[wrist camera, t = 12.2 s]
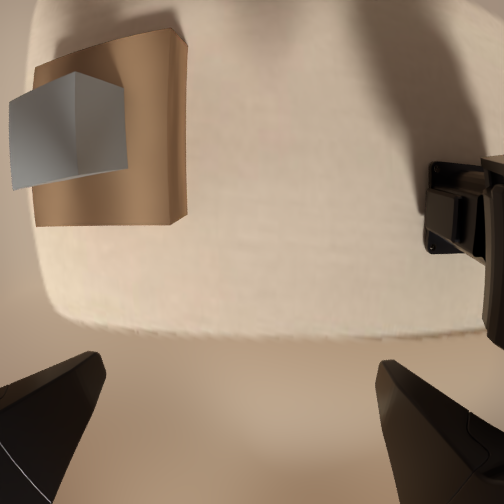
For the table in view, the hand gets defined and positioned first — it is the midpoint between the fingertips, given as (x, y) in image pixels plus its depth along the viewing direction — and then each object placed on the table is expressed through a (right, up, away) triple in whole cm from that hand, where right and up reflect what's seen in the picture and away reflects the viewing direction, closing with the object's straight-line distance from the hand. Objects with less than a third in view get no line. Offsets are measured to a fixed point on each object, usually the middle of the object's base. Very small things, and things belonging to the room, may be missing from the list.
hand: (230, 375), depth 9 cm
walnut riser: (-9, +12, +11) cm, 19 cm away
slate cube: (-9, +11, +8) cm, 16 cm away
